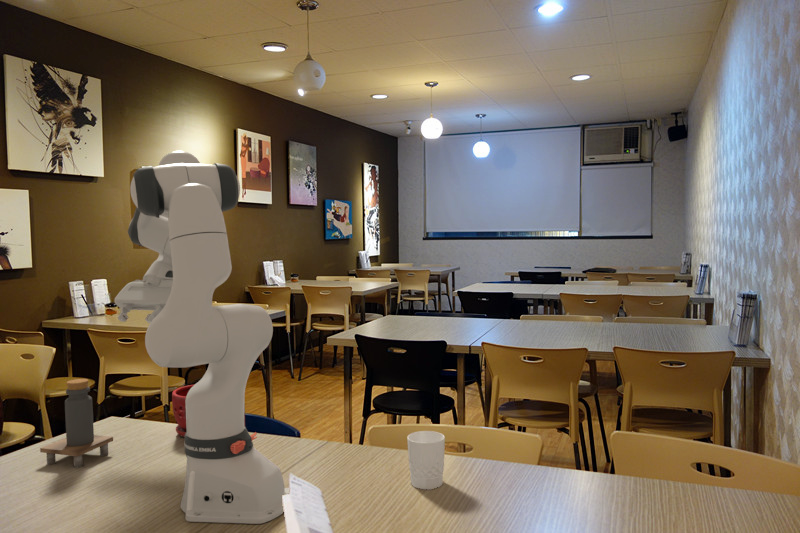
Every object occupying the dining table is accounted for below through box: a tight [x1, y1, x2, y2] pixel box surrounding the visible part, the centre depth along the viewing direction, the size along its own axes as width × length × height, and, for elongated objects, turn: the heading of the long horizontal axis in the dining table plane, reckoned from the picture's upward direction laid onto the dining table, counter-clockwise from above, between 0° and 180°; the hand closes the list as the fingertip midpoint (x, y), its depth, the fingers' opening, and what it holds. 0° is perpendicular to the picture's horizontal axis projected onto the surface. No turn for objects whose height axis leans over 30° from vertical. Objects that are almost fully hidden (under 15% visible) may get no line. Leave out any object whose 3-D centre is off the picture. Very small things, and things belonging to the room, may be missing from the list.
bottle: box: [64, 378, 95, 446], centre depth 147 cm, size 6×6×15 cm
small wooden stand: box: [39, 434, 114, 469], centre depth 148 cm, size 11×11×4 cm
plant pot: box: [171, 384, 195, 438], centre depth 166 cm, size 13×13×12 cm
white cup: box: [406, 430, 446, 490], centre depth 129 cm, size 8×8×10 cm
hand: (134, 320), depth 160 cm, fingers open, 8 cm apart
